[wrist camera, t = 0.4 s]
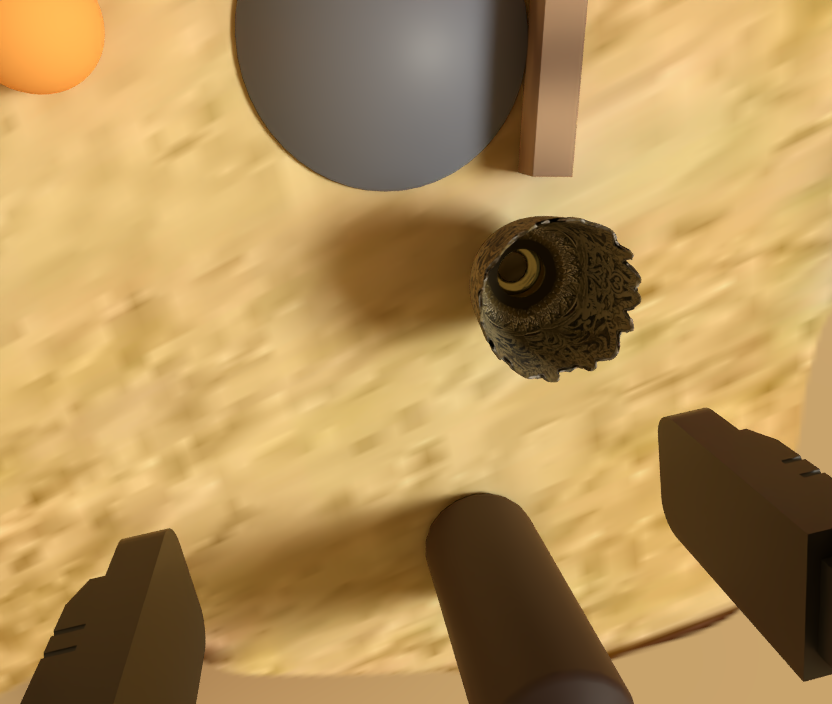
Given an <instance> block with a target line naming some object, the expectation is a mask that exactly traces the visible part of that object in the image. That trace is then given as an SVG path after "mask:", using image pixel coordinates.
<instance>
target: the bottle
mask: <svg viewBox="0 0 832 704" xmlns="http://www.w3.org/2000/svg"><path fill="white" fill-rule="evenodd" d="M426 559H427V562H428V566H429V569H430V573H431V576H432V580H433V583H434V586H435V590H436V593H437V597H438V600H439V603H440V607H441V610H442V614H443V617H444V620H445V624H446V627H447V631H448V634H449V638H450V641H451V644H452V648H453V651H454V655H455V658H456V661H457V665H458V668H459V672H460V675H461V679H462V682H463V685H464V689H465V692H466V696H467V699H468V702H469V704H634V703H633V699H632V697H631V694H630V692H629V691H628V689H627V687H626V686H625V684H624V682H623V680H622V679H621V677H620V675H619V673H618V671H617V670H616V668H615V666H614V664H613V663H612V661H611V659H610V658H609V656H608V654H607V652H606V651H605V649H604V647H603V645H602V644H601V642H600V640H599V638H598V637H597V635H596V633H595V631H594V630H593V628H592V626H591V624H590V623H589V621H588V619H587V617H586V616H585V614H584V612H583V610H582V609H581V607H580V605H579V603H578V602H577V600H576V598H575V597H574V595H573V593H572V591H571V590H570V588H569V586H568V584H567V583H566V581H565V579H564V577H563V576H562V574H561V572H560V570H559V569H558V567H557V565H556V563H555V562H554V560H553V558H552V556H551V555H550V553H549V551H548V549H547V548H546V546H545V544H544V542H543V541H542V539H541V537H540V536H539V534H538V532H537V530H536V529H535V527H534V525H533V523H532V522H531V520H530V518H529V517H528V516H527V514H526V513H525V512H524V511H523V509H522V508H521V507H520V506H519V505H517V504H516V503H514V502H512V501H511V500H509V499H507V498H506V497H502V496H498V495H493V494H479V495H471V496H468V497H466V498H463V499H460V500H458V501H455V502H454V503H453V504H451V505H450V506H449V507H447V508H446V509H444V510H443V511H442V512H441V513H440V514H439V516H438V517H437V518H436V520H435V521H434V522H433V524H432V525H431V528H430V531H429V533H428V536H427V539H426Z"/></svg>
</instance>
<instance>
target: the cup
mask: <svg viewBox="0 0 832 704" xmlns="http://www.w3.org/2000/svg"><path fill="white" fill-rule="evenodd" d="M511 252H517V253H519V254H521V255H523V256H524V258H525V259H526V262H527V270H526V273H525V274H524V276H523V277H522V278H521V279H519V280H518V281H515V282H508V281H505V280H504V279H502V278H501V276H500V275H499V272H498V268H499V265H500V263H501V262H502V260H503V259H504V258H505V257H506V256H507V255H508V254H509V253H511ZM633 257H634V255H633V253H632V252H631V251H630V250H629V249H627V248H625V247H623V246H622V245H620V244H619V243H618V241H617V236H616V234H615V233H614V232H613V230H611V229H610V228H608V227H605V226H603V225H600V224H597V223H593V222H590V221H587V220H585V219H581V218H575V217H567V218H564V217H552V216H535V217H528V218H523V219H519V220H516V221H514V222H511V223H509V224H507V225H505V226H503V227H502V228H500V229H499V230H497V231H496V232H495V233H493V234H492V235H491V236H490V237H489V238H488V239H487V240H486V241H485V243H484V244H483V245H482V247H481V248H480V250H479V251H478V253H477V255H476V257H475V260H474V263H473V266H472V270H471V275H470V296H471V301H472V306H473V309H474V312H475V315H476V317H477V320H478V322H479V324H480V327H481V329H482V332H483V334H484V336H485V339H486V341H487V342H488V343H489V344H490V346H491V350H492V351H493V352H494V354H495V355H496V356H497V358H498V359H499V360H501V359H502V360H503V361H504V362H506V363H507V364H508V365H509V366H510V368H511V369H512V370H514V371H515V372H516V373H518V374H519V375H521V376H523V377H524V378H528V379H534V378H536V379H539V378H543V379H544V380H546V381H547V382H558V381H559V376H560V375H559V372H563V371H565V372H571V371H573V370H574V369H576V368H581V369H583V368H584V369H586V370H587V371H593V370H595V369H596V368H597V363H596V362H598V361H607V360H612V359H614V358H615V357H616V356H617V354H618V353H619V349H620V335H621V333H622V332H626V333H628V332H629V331H633V330H634V324H633V319H632V318H630V316H629V314H628V313H627V311H630V310H633V309H634V307H636V306H637V305H639V304H640V302H641V296H640V294H639V293H638V292H637V291H638V289H637V287H638V286H639V284H640V283H641V277H640V275H639V273H638V272H637V271H636V270H635V268H634V267H633V266H632V265H630V264H629V263H628V262H627V261H626V260H629V259H631V260H632V258H633ZM635 287H636V288H635Z"/></svg>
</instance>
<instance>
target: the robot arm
mask: <svg viewBox="0 0 832 704" xmlns="http://www.w3.org/2000/svg"><path fill="white" fill-rule="evenodd" d="M658 443H659V461H660V480H661V498H662V505H663V510H664V513H665V516H666V519H667V522H668V524H669V526H670V528H671V530H672V531H673V533H674V535H675V536H676V537H677V538H678V539H679V541H680V542H681V543H682V544H683V545H684V546H685V547H686V549H687V550H688V551H689V552H690V553H691V554H692V555H693V557H694V558H695V559H696V560H697V561H698V562H699V563H700V565H701V566H702V567H703V568H704V569H705V570H706V571H707V573H708V574H709V575H710V576H711V577H712V578H713V579H714V580H715V582H716V583H717V584H718V585H719V586H720V587H721V588H722V590H723V591H724V592H725V593H726V594H727V595H728V596H729V598H730V599H731V600H732V601H733V602H734V603H735V604H736V606H737V607H738V608H739V609H740V610H741V611H742V612H743V614H744V615H745V616H746V617H747V618H748V619H749V620H750V621H751V623H752V624H753V625H754V626H755V627H756V628H757V629H758V631H759V632H760V633H761V634H762V635H763V636H764V637H765V639H766V640H767V641H768V642H769V643H770V644H771V645H772V647H773V648H774V649H775V650H776V651H777V652H778V653H779V655H781V657H782V658H783V659H784V660H785V661H786V662H787V664H788V665H789V666H790V667H791V668H792V669H793V670H794V672H795V673H796V674H797V675H798V676H799V677H800V678H801V680H802V681H808V680H812V679H815V678H819V677H823V676H827V675H831V674H832V478H831V477H830V476H829V475H827V474H826V473H821V472H820V469H819V468H817V467H816V466H814V465H813V464H811V463H810V462H808V461H807V460H806V459H804V460H802V459H801V456H800V455H799V454H797V453H796V452H794V451H793V450H791V449H790V448H788V447H787V446H786V445H784V444H783V443H781V442H780V441H778V440H776V439H774V438H771V437H768V436H765V435H762V434H759V433H756V432H754V431H751V430H748V429H744V430H738V429H737V428H736V427H734V426H733V425H732V424H730V423H729V422H728V421H726V420H725V419H723V418H722V417H721V416H719V415H718V414H717V413H715V412H714V411H713V410H711V409H709V408H702V409H697V410H693V411H689V412H684V413H680V414H675V415H671V416H667V417H663V418H662V419H661V420H660V422H659V426H658ZM204 652H205V626H204V620H203V614H202V610H201V607H200V604H199V601H198V598H197V595H196V592H195V589H194V585H193V582H192V579H191V576H190V573H189V570H188V567H187V564H186V561H185V558H184V555H183V552H182V549H181V546H180V543H179V541H178V538H177V536H176V534H175V532H174V531H173V530H172V529H164V530H160V531H156V532H151V533H147V534H142V535H138V536H134V537H129V538H125V539H122V540H120V542H119V543H118V545H117V548H116V550H115V553H114V555H113V558H112V560H111V563H110V565H109V568H108V570H107V573H106V575H105V576H103V577H98V578H94V579H90V580H89V581H88V582H87V583H86V584H85V585H84V586H83V587H82V588H81V589H80V590H79V591H78V592H77V594H76V595H75V596H74V597H73V598H72V599H71V600H70V601H69V602H68V603H67V604H66V605H65V607H64V610H63V612H62V614H61V616H60V618H59V620H58V623H57V625H56V627H55V629H54V636H51V638H50V640H49V642H48V644H47V647H46V649H45V651H44V658H43V659H41V660H40V662H39V664H38V666H37V668H36V671H35V673H34V675H33V677H32V679H31V682H30V684H29V686H28V688H27V690H26V693H25V695H24V697H23V699H22V701H21V704H196V700H197V694H198V688H199V682H200V676H201V670H202V664H203V658H204Z"/></svg>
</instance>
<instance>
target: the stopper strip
mask: <svg viewBox="0 0 832 704" xmlns="http://www.w3.org/2000/svg"><path fill="white" fill-rule="evenodd" d="M587 4H588V0H529V15H528V48H527V56H526V64H525V76H524V92H523V107H522V122H521V137H520V153H519V168H518V172H519V173H522V174H526V175H529V176H533V177H572V173H573V161H574V150H575V139H576V128H577V116H578V105H579V94H580V83H581V71H582V60H583V49H584V37H585V26H586V15H587Z"/></svg>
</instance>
